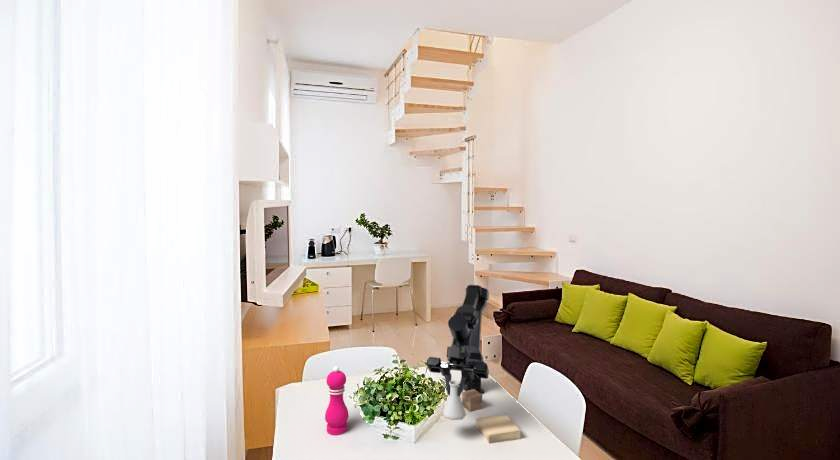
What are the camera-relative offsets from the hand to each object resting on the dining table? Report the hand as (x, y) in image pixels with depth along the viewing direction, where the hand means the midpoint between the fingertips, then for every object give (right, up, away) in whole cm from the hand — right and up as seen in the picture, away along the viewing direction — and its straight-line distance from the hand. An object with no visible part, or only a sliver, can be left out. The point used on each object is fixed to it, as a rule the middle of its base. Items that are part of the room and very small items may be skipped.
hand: (453, 395), depth 121 cm
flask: (0, -7, +2) cm, 7 cm away
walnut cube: (+8, -12, +20) cm, 25 cm away
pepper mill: (-36, -13, +6) cm, 39 cm away
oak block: (+14, -14, +4) cm, 20 cm away
